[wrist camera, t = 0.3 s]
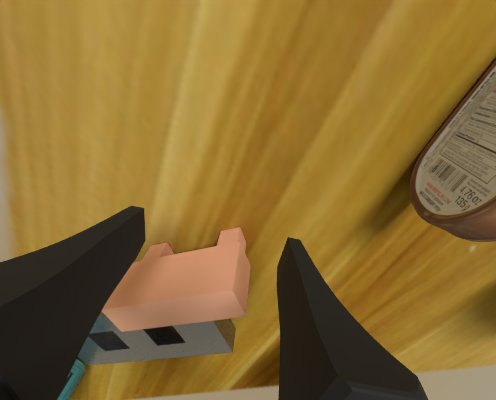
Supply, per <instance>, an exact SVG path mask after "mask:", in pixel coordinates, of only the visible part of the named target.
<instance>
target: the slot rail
mask: <svg viewBox="0 0 496 400" xmlns="http://www.w3.org/2000/svg"><path fill="white" fill-rule="evenodd" d="M234 338H235V327H234V325H233V323H232V322H231V320H230V319H222V320H214V321H206V322H198V323H190V324H182V325H173V326H165V327H157V328H149V329H141V330H133V331H125V332H121V331H120V330H119V329H118V328H117V327H116V326H115V325H114V323H113V322H112V321H111V320H110V319H109V318H108V317H107V316H106V315H105V314H104V313H103V312H102V311H101V313H100V315H99V316H98V318H97V320H96V322H95V324H94V325H93V327H92V329H91V331H90V333H89V335H88V337H87V339H86V341H85V343H84V345H83V347H82V349H81V351H80V353H79V355H78V358H80V359H81V360H82V361H83V362H85V363H86V364H87V365H98V364H109V363H120V362H131V361H142V360H154V359H165V358H176V357H187V356H198V355H209V354H220V353H231V352H233V346H234Z"/></svg>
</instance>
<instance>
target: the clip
mask: <svg viewBox="0 0 496 400" xmlns="http://www.w3.org/2000/svg"><path fill="white" fill-rule="evenodd" d="M245 248H246V241H245V238H244V236H243V233H242V231H241V228H240V227H238V228H233V229H228V230H223V231H221V232H220V236H219V239H218V243H217V246H214V247H209V248H204V249H199V250H194V251H189V252H184V253H179V254H174V252H173V251H172V249H171V247H170V246H169V244H168V243H167V242H166V243H161V244H156V245H152V246H150V248H149V249H148V251H147V252H146V254H145V256H144V257H143V259H142V261H137V262H133V264H132V265H131V267H130V268H129V270H128V271H127V273H126V274H125V275H124V277H123V278H122V280H121V281H120V283H119V284H118V286H117V287H116V289H115V290H114V291H113V293H112V294H111V296H110V297H109V299H108V301H107V302H106V304H105V305H104V307H103V309H102V312H103V313H104V314H105V315H106V316H107V317H108V318H109V319H110V320H111V321H112V322H113V323H114V325H115V326H116V327H117V328H118V329H119V330H120V331H121V332H125V331H133V330H141V329H149V328H157V327H165V326H173V325H182V324H190V323H198V322H206V321H214V320H222V319H230V318H239V317H246V312H247V301H248V290H249V278H250V267H251V266H250V263H249V261H248V259H247V256H246V254H245Z"/></svg>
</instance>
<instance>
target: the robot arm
mask: <svg viewBox="0 0 496 400" xmlns="http://www.w3.org/2000/svg"><path fill="white" fill-rule="evenodd" d="M144 242H145V219H144V208H140V207H135V206H130V207H128V208H126V209H124V210H122V211H121V212H119V213H117V214H115V215H113V216H111V217H110V218H108V219H106V220H104V221H102V222H100V223H98V224H96V225H94V226H92V227H90V228H88V229H86V230H84V231H82V232H80V233H78V234H76V235H74V236H72V237H69V238H67V239H65V240H63V241H60V242H58V243H55V244H53V245H50V246H48V247H45V248H43V249H40V250H37V251H34V252H31V253H28V254H25V255H22V256H19V257H16V258H13V259H10V260H7V261H4V262H0V400H57V399H58V397H59V395H60V393H61V391H62V389H63V386H64V384H65V382H66V380H67V378H68V375H69V373H70V371H71V369H72V367H73V365H74V363H75V361H76V359H77V357H78V355H79V353H80V351H81V349H82V347H83V345H84V343H85V341H86V339H87V337H88V335H89V333H90V331H91V329H92V327H93V325H94V324H95V322H96V320H97V318H98V316H99V315H100V313H101V311H102V309H103V307H104V305H105V304H106V302H107V301H108V299H109V297H110V296H111V294H112V293H113V291H114V290H115V289H116V287H117V286H118V284H119V283H120V281H121V280H122V278H123V277H124V275H125V274H126V273H127V271H128V270H129V268H130V267H131V265H132V264H133V262H134V261H135V259H136V258H137V256H138V254H139V252H140V250H141V248H142V246H143V244H144ZM277 296H278V309H279V322H280V377H279V400H428V398H427V396H426V394H425V392H424V390H423V387H422V385H421V383H420V381H419V379H418V377H417V376H416V375H415V374H414V373H412V372H411V371H410V370H409V369H408V368H406V367H405V366H404V365H403V364H402V363H400V362H399V361H398V360H397V359H396V358H395V357H393V356H392V355H391V354H390V353H389V352H388V351H387V350H386V349H384V348H383V347H382V346H381V345H380V344H379V343H378V342H377V341H376V340H375V339H374V338H373V337H372V336H371V335H370V334H369V333H368V332H367V331H366V330H365V329H364V328H363V327H362V326H361V325H360V324H359V323H358V322H357V321H356V320H355V319H354V318H353V316H352V315H351V314H350V313H349V312H348V311H347V310H346V308H345V307H344V306H343V305H342V303H341V302H340V301H339V300H338V299H337V297H336V296H335V295H334V293H333V292H332V291H331V289H330V288H329V286H328V285H327V284H326V282H325V281H324V279H323V278H322V276H321V275H320V273H319V271H318V270H317V268H316V267H315V265H314V263H313V262H312V260H311V258H310V256H309V255H308V253H307V251H306V249H305V248H304V246H303V244H302V242H301V241H300V240H299V239H294V238H289V237H288V239H287V241H286V244H285V247H284V250H283V252H282V255H281V258H280V261H279V263H278V267H277Z"/></svg>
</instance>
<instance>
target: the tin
mask: <svg viewBox="0 0 496 400" xmlns="http://www.w3.org/2000/svg"><path fill="white" fill-rule="evenodd" d="M409 196H410V199H411V202H412V204H413V206H414V208H415V210H416V212H417V213H418V214H419V216H420V217H421V218H422V219H424V220H425V221H426V222H428V223H430V224H432V225H434V226H436V227H439V228H441V229H444V230H446V231H448V232H449V233H451V234H452V235H454V236H456V237H459V238H462V239H466V240H470V241H476V242H492V241H496V60H495V62H494V63H493V64H492V65H491V66H490V68H489V69H488V70H487V71H486V73H485V74H484V75H483V76H482V78H481V79H480V80H479V81H478V83H477V84H476V85H475V86H474V87H473V89H472V90H471V91H470V92H469V94H468V95H467V96H466V97H465V98H464V100H463V101H462V102H461V103H460V105H459V106H458V107H457V108H456V110H455V111H454V112H453V113H452V115H451V116H450V117H449V118H448V120H447V121H446V122H445V123H444V125H443V126H442V127H441V128H440V129H439V131H438V132H437V133H436V134H435V136H434V137H433V138H432V139H431V141H430V142H429V143H428V144H427V146H426V147H425V149H424V150H423V151H422V153H421V155H420V156H419V158H418V160H417V162H416V164H415V166H414V169H413V171H412V174H411V178H410V184H409Z"/></svg>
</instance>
